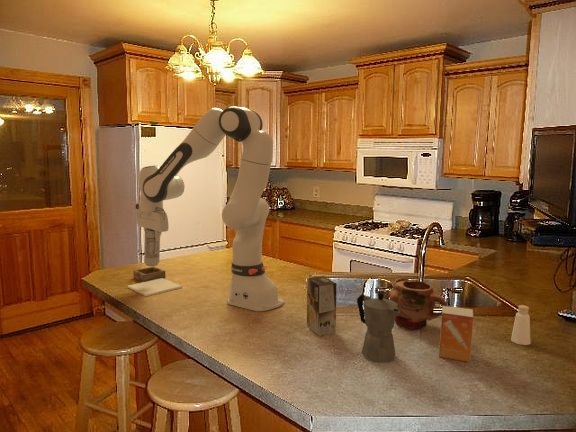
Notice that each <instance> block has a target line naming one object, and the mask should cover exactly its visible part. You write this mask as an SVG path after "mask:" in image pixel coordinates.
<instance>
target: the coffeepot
mask: <svg viewBox="0 0 576 432" xmlns="http://www.w3.org/2000/svg"><path fill="white" fill-rule="evenodd" d="M356 303H357V307H358V312H359V313H358V314H359V318H360V322H361V323H363V324H365V326H366V328H367V329H366V332H365V335H364V340H363V344H362V349H361V354H362V356H363V357H364V358H365V359H366V360H368V361H371V362H374V363H388V362H392V361H394V359H395V357H396V349H395V342H394V335H393V332H392V331H393V329H394V327H395V324H396V322H395V318H396V315H397V314H399V313H400V310H398V304H396V303H395V302H394V301H392V300H390V299H387V298H384V292H378V293H377V298H376V297H375V298H374V297H373V298H372V297H371V296H370V295H365V294H363V293H362V294H360V295H359V296H358V297H357V298H356Z"/></svg>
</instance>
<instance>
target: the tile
mask: <svg viewBox="0 0 576 432" xmlns="http://www.w3.org/2000/svg"><path fill="white" fill-rule="evenodd" d="M127 289H130V290H132V291H133V292H136V293H138V294H140V295H141V296H143V297H151V296H154V295H158V294H162V293H166V292H171V291H175V290H179V289H183V285H181V284H178V283H177V282H176V283H175V282H173V281H171V280H169V279H166V278H165V279H164V278H160V279H156V280H151V281H147V282H137V283H133V284H129V285H127Z"/></svg>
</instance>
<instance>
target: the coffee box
mask: <svg viewBox="0 0 576 432" xmlns="http://www.w3.org/2000/svg"><path fill="white" fill-rule="evenodd" d="M306 296H307V297H306V326H307V327H308V328H309V330H311V331H312V332H314V333H315V334H316V335H317V336H320V337H321V336H323V335H329V334H335V333H337V332H336V331H337V330H336V329H337V327H336V326H337V282H335V281H333V280H331V279H330V278H328V277H326V276H325V275H322V276H313V277H309V278H308V277H307V279H306Z"/></svg>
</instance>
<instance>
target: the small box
mask: <svg viewBox="0 0 576 432" xmlns="http://www.w3.org/2000/svg"><path fill="white" fill-rule="evenodd" d="M441 309H442V310H441V312H442V315H441V320H440V335H439V351H438V358H443V359H444V358H445V359H448V360H449V359H451V360H456V361H462V362H467V363H470V362H471V354H472V353H471V351H472V340H473V339H472V338H473V326H474V309H471V308H463V307H457V306H456V307H455V306H449V305H447V306H443V308H441Z"/></svg>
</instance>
